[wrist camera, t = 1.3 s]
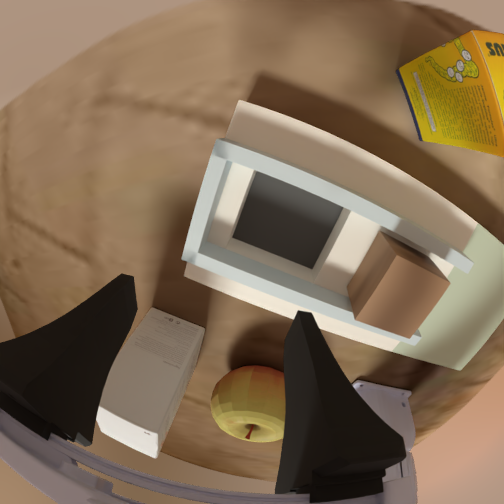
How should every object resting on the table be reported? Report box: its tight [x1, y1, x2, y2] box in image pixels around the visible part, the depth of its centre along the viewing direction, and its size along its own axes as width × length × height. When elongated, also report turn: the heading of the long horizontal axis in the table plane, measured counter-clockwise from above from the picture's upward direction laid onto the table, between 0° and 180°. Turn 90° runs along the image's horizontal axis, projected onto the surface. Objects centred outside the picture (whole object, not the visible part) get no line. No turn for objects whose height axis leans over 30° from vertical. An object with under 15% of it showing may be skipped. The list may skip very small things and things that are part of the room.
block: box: [347, 231, 451, 339], centre depth 17 cm, size 5×5×4 cm
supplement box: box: [396, 30, 504, 157], centre depth 10 cm, size 6×6×11 cm
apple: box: [211, 365, 285, 442], centre depth 26 cm, size 10×10×8 cm
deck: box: [182, 100, 504, 370], centre depth 19 cm, size 32×14×4 cm, turn 70°
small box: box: [96, 307, 205, 458], centre depth 23 cm, size 8×6×13 cm
